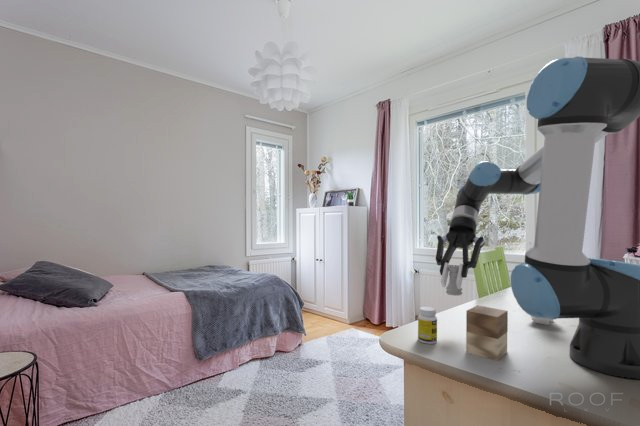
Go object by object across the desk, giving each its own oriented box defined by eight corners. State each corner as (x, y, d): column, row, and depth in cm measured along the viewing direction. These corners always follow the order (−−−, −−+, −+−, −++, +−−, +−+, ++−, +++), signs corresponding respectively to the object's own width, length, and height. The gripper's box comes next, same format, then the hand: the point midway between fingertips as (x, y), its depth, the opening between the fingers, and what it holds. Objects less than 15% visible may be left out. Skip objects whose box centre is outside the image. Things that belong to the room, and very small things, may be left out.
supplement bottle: (434, 345, 86) (434, 312, 86) (415, 341, 88) (415, 309, 88) (438, 339, 90) (439, 307, 90) (420, 336, 92) (421, 305, 92)
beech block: (507, 352, 82) (507, 331, 82) (497, 361, 77) (497, 339, 77) (477, 344, 87) (477, 324, 87) (466, 352, 82) (466, 331, 82)
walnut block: (507, 331, 82) (507, 310, 82) (497, 339, 77) (497, 317, 77) (477, 324, 87) (477, 305, 87) (466, 331, 82) (466, 310, 82)
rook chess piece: (464, 296, 94) (464, 267, 94) (447, 295, 95) (446, 266, 95) (460, 292, 98) (460, 264, 98) (444, 292, 99) (444, 264, 99)
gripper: (493, 232, 105) (485, 296, 91) (439, 231, 114) (423, 289, 100) (491, 214, 101) (481, 279, 87) (434, 215, 110) (417, 273, 96)
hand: (450, 284), depth 93 cm, fingers closed on rook chess piece, 3 cm apart
